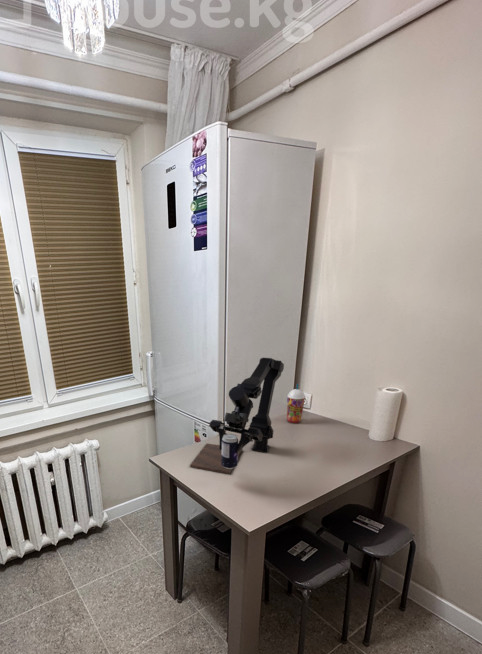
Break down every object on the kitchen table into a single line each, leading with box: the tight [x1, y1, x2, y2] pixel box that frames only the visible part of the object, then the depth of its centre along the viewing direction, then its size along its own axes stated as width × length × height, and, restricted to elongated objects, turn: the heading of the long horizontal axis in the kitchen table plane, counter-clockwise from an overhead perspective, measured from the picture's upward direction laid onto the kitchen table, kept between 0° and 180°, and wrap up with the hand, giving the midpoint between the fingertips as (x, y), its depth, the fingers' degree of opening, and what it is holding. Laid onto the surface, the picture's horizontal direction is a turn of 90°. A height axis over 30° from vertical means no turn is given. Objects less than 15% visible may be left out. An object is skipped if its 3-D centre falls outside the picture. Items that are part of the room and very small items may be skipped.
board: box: [189, 443, 243, 475], centre depth 150 cm, size 22×16×1 cm
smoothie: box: [286, 383, 306, 424], centre depth 181 cm, size 8×8×20 cm
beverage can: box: [221, 433, 239, 470], centre depth 128 cm, size 6×6×12 cm
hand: (228, 451), depth 127 cm, fingers closed on beverage can, 5 cm apart
